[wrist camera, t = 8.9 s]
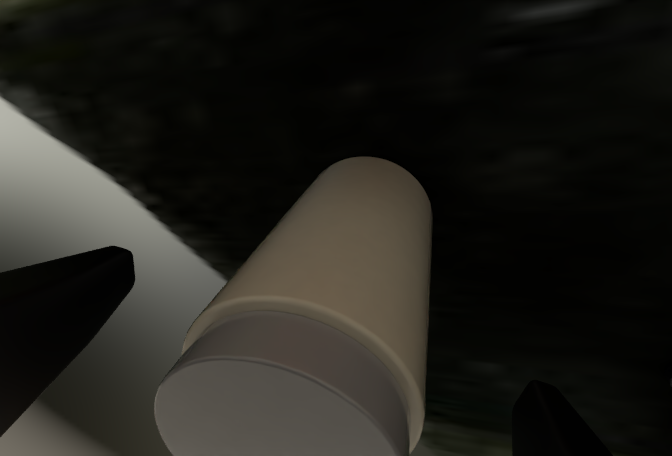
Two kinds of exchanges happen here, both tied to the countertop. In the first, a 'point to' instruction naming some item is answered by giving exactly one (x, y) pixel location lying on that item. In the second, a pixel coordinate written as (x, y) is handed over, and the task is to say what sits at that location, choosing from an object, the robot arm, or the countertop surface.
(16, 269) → the robot arm
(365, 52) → the countertop surface
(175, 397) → the cylinder
